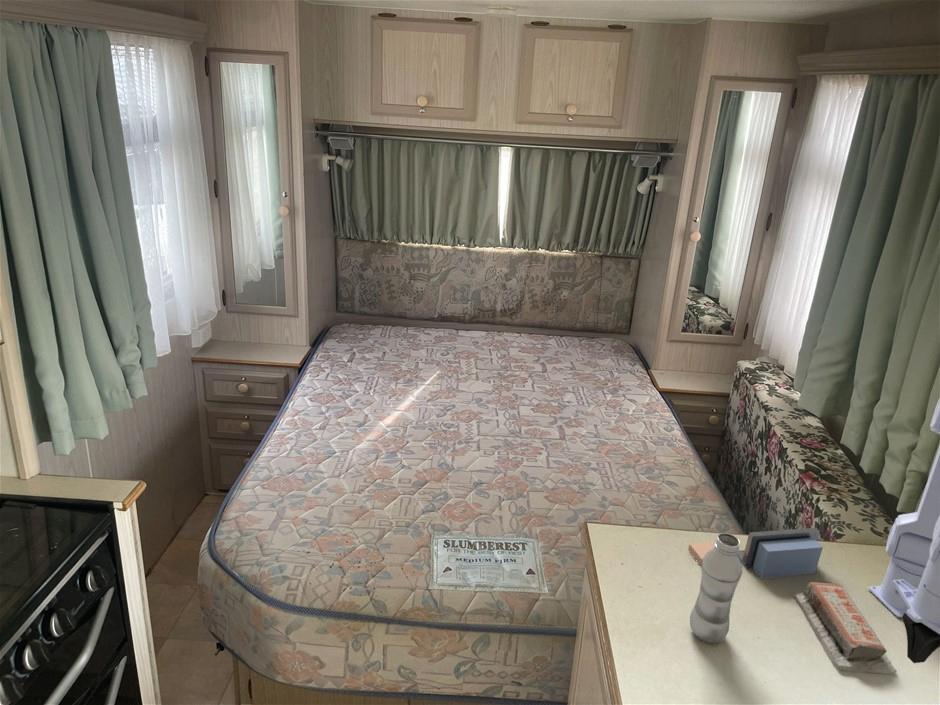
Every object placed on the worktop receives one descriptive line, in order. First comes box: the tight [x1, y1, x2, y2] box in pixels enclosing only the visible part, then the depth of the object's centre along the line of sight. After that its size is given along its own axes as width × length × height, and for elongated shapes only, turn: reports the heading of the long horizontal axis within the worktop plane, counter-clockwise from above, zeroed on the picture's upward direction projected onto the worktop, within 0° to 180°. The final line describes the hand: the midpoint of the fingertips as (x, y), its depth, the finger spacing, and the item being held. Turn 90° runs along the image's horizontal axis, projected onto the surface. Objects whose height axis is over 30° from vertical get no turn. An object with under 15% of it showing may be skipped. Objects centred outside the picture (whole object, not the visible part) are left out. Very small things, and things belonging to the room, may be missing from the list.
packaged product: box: [794, 582, 898, 675], centre depth 122 cm, size 18×5×10 cm
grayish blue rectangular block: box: [752, 538, 824, 579], centre depth 137 cm, size 12×3×6 cm, turn 101°
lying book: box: [687, 540, 716, 567], centre depth 141 cm, size 8×5×2 cm, turn 102°
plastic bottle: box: [689, 532, 743, 644], centre depth 117 cm, size 6×7×20 cm
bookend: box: [737, 527, 821, 568], centre depth 140 cm, size 15×4×8 cm, turn 101°
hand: (915, 659), depth 106 cm, fingers closed
